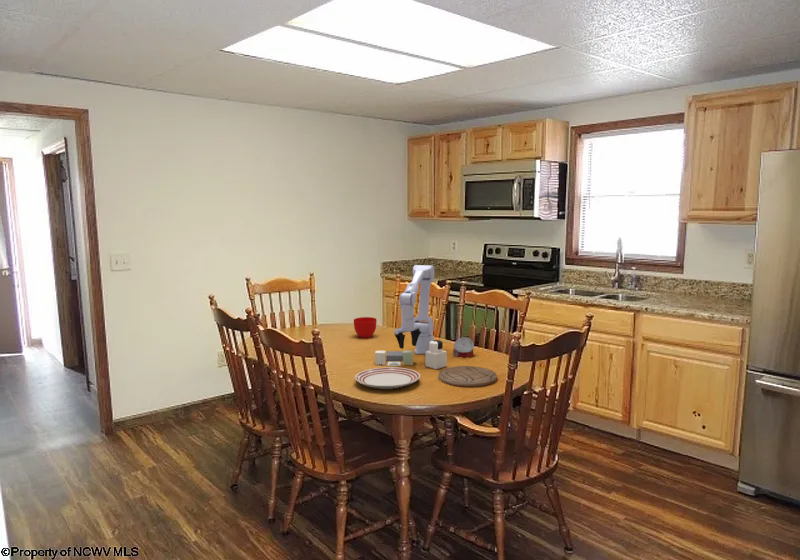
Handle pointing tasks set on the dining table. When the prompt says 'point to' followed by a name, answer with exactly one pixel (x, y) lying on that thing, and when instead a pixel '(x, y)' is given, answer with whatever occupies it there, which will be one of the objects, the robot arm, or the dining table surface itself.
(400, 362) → the card
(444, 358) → the medicine bottle
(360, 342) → the dining table surface
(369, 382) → the dinner plate
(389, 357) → the base slab
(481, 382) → the trivet
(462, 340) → the canned food
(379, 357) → the offwhite block
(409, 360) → the sage block
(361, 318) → the ceramic cup
